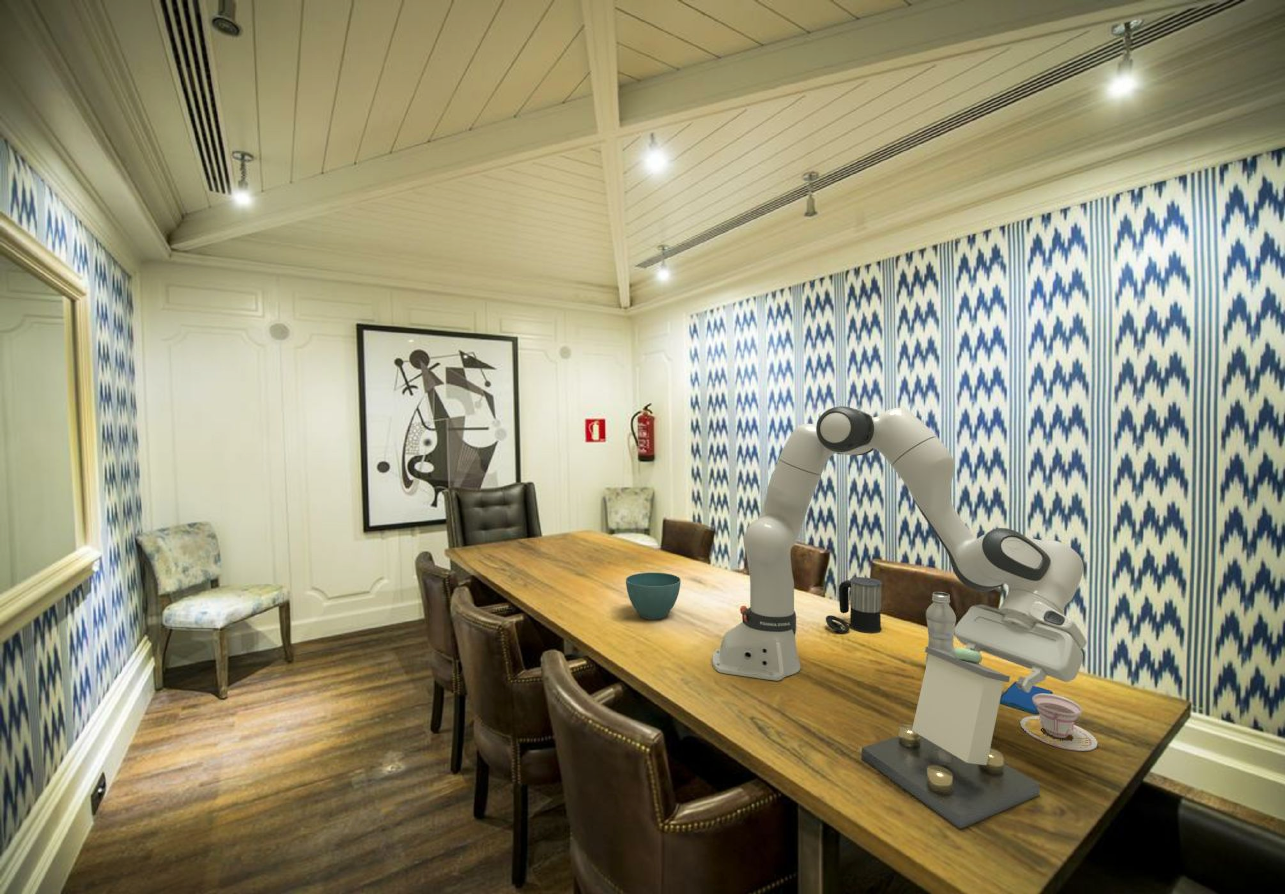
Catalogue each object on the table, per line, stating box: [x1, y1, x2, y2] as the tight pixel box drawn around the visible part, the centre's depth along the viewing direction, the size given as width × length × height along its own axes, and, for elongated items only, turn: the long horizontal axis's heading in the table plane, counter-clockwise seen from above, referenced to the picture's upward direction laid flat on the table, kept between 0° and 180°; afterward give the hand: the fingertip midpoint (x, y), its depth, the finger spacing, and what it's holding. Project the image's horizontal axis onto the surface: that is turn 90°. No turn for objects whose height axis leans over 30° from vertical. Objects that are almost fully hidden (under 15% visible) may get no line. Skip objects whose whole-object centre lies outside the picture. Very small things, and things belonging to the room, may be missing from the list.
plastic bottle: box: [925, 591, 957, 665], centre depth 130 cm, size 6×7×20 cm
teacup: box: [1019, 693, 1099, 752], centre depth 104 cm, size 12×12×6 cm
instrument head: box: [912, 646, 1011, 765], centre depth 92 cm, size 6×11×20 cm, turn 23°
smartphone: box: [999, 680, 1054, 715], centre depth 118 cm, size 7×1×15 cm
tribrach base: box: [861, 723, 1041, 830], centre depth 91 cm, size 19×19×4 cm
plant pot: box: [625, 572, 682, 621], centre depth 174 cm, size 18×18×12 cm
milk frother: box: [825, 576, 883, 634], centre depth 161 cm, size 14×16×15 cm
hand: (994, 678), depth 95 cm, fingers open, 8 cm apart
